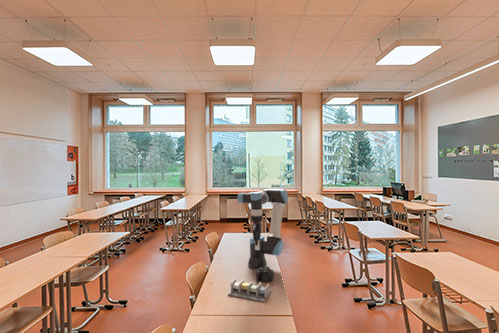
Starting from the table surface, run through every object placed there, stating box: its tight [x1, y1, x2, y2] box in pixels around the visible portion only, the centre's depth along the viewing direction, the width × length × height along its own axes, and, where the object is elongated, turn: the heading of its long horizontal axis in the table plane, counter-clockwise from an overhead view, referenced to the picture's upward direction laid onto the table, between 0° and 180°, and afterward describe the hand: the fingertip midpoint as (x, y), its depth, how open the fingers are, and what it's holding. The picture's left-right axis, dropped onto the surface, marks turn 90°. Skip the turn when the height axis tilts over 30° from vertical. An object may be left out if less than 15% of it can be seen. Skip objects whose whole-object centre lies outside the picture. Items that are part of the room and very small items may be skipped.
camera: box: [255, 265, 275, 283], centre depth 182 cm, size 13×10×10 cm
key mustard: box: [241, 281, 250, 289], centre depth 165 cm, size 4×4×2 cm
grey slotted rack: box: [227, 277, 272, 303], centre depth 164 cm, size 14×24×6 cm, turn 68°
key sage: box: [250, 284, 257, 292], centre depth 163 cm, size 4×4×2 cm
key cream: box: [233, 281, 240, 289], centre depth 167 cm, size 4×4×2 cm
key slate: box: [259, 286, 266, 294], centre depth 161 cm, size 4×4×2 cm
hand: (257, 249), depth 175 cm, fingers closed
